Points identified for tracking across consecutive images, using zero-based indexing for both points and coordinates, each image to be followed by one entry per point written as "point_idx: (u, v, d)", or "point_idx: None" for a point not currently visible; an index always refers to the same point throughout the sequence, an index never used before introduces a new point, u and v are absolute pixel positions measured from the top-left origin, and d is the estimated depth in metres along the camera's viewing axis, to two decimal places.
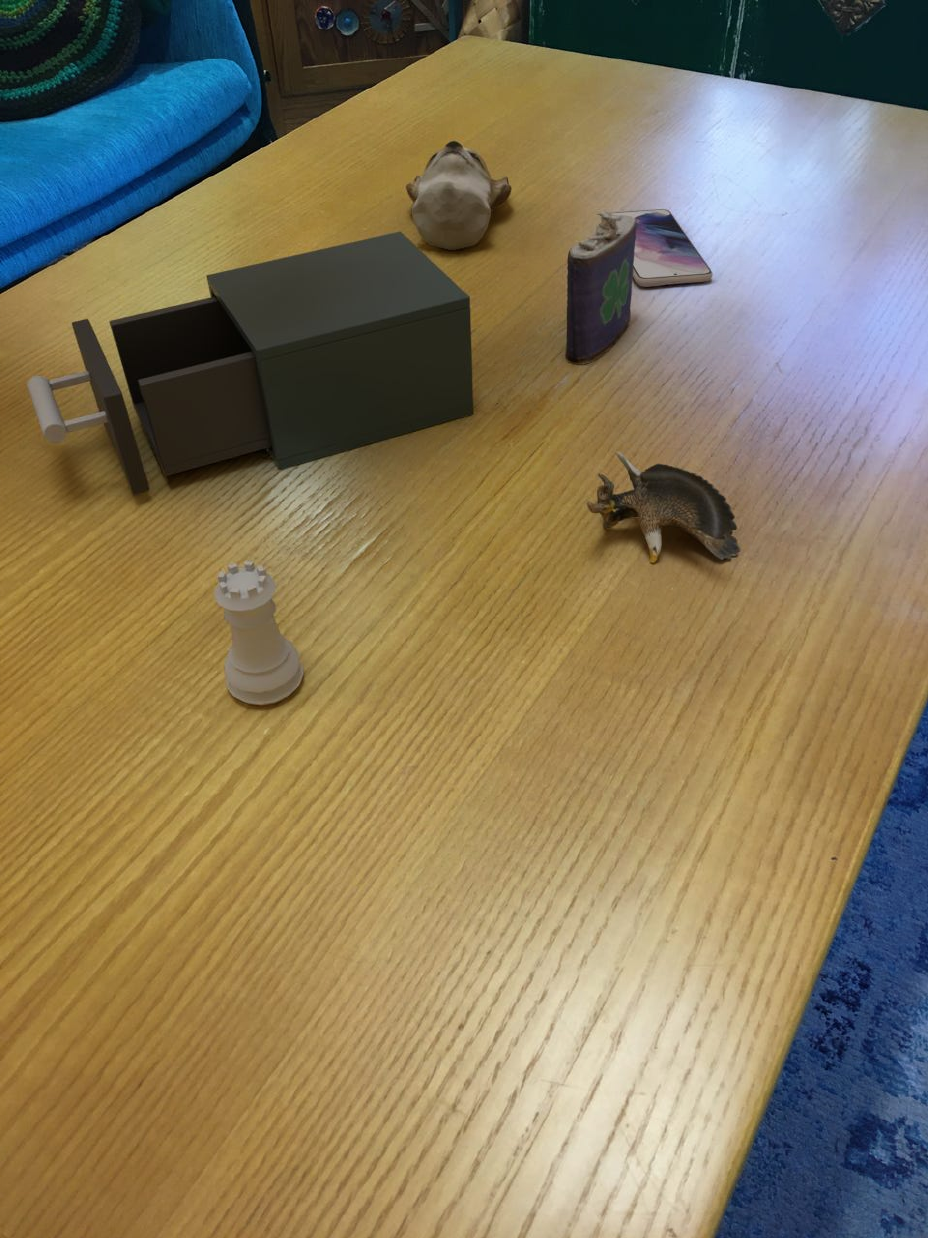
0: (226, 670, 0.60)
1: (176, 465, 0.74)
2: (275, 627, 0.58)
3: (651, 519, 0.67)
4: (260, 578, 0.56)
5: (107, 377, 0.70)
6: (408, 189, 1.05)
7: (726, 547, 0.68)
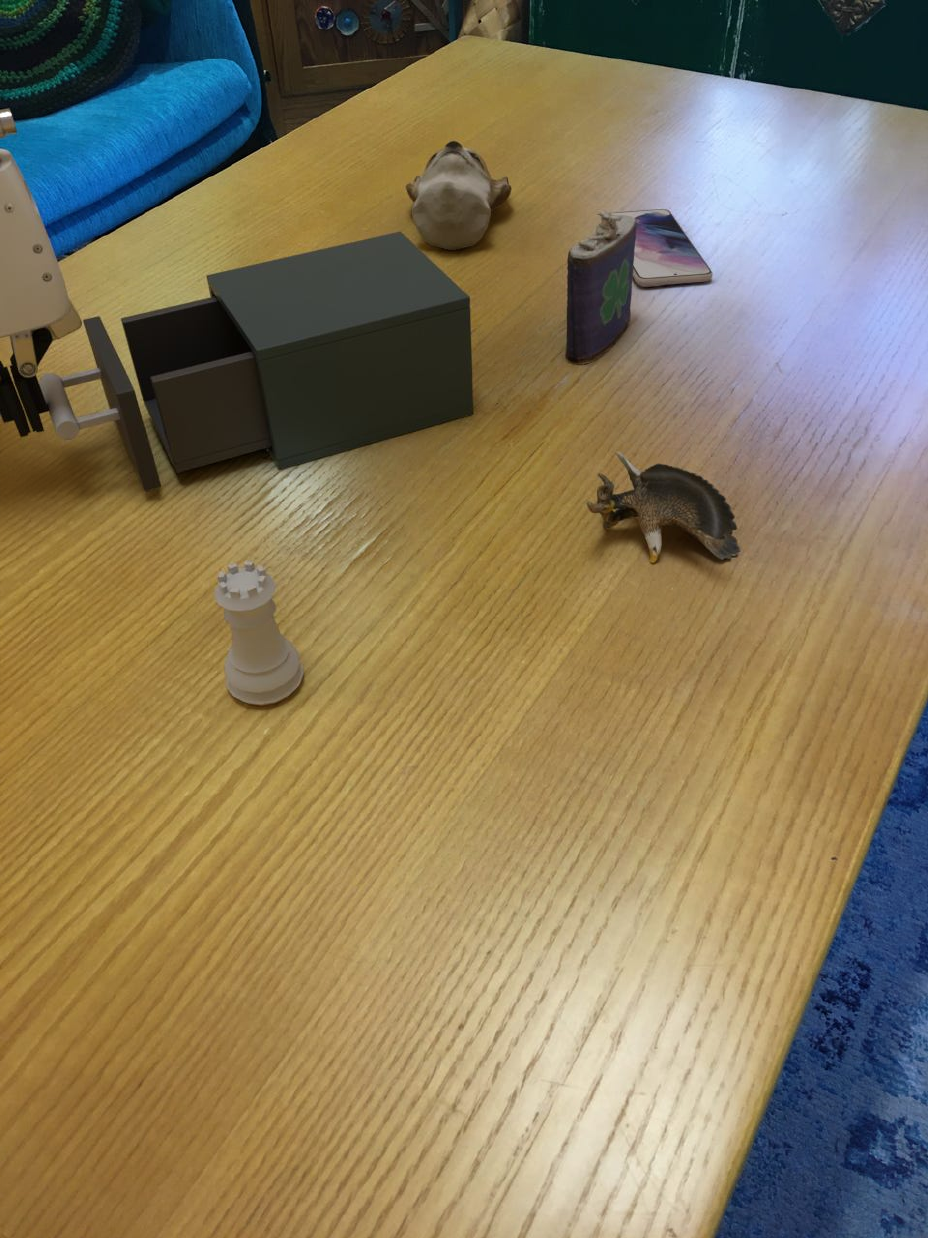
0: (226, 670, 0.60)
1: (188, 462, 0.74)
2: (275, 627, 0.58)
3: (651, 519, 0.67)
4: (260, 578, 0.56)
5: (119, 374, 0.70)
6: (408, 189, 1.05)
7: (726, 547, 0.68)
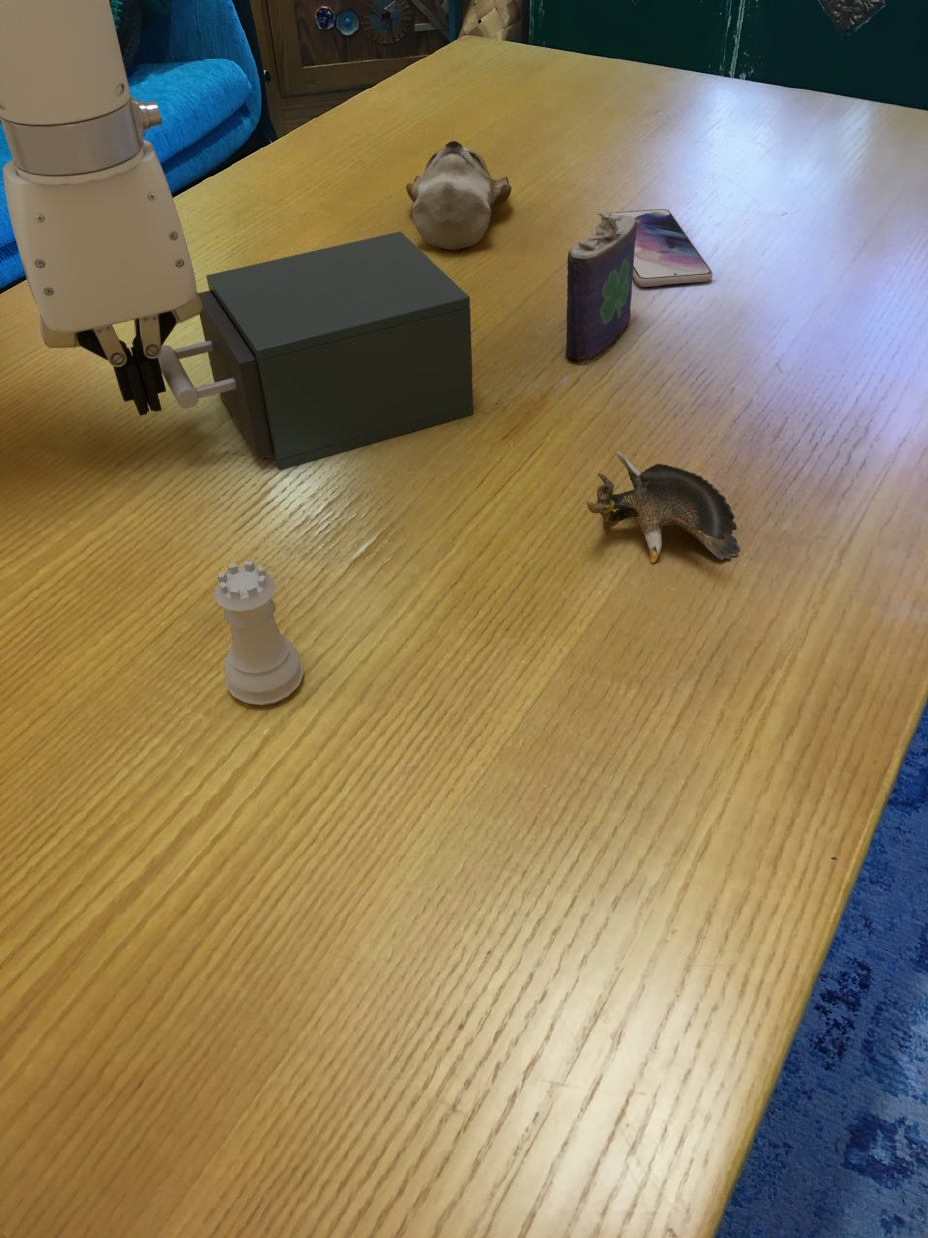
0: (226, 670, 0.60)
1: None
2: (275, 627, 0.58)
3: (651, 519, 0.67)
4: (260, 578, 0.56)
5: (239, 344, 0.72)
6: (408, 189, 1.05)
7: (726, 547, 0.68)
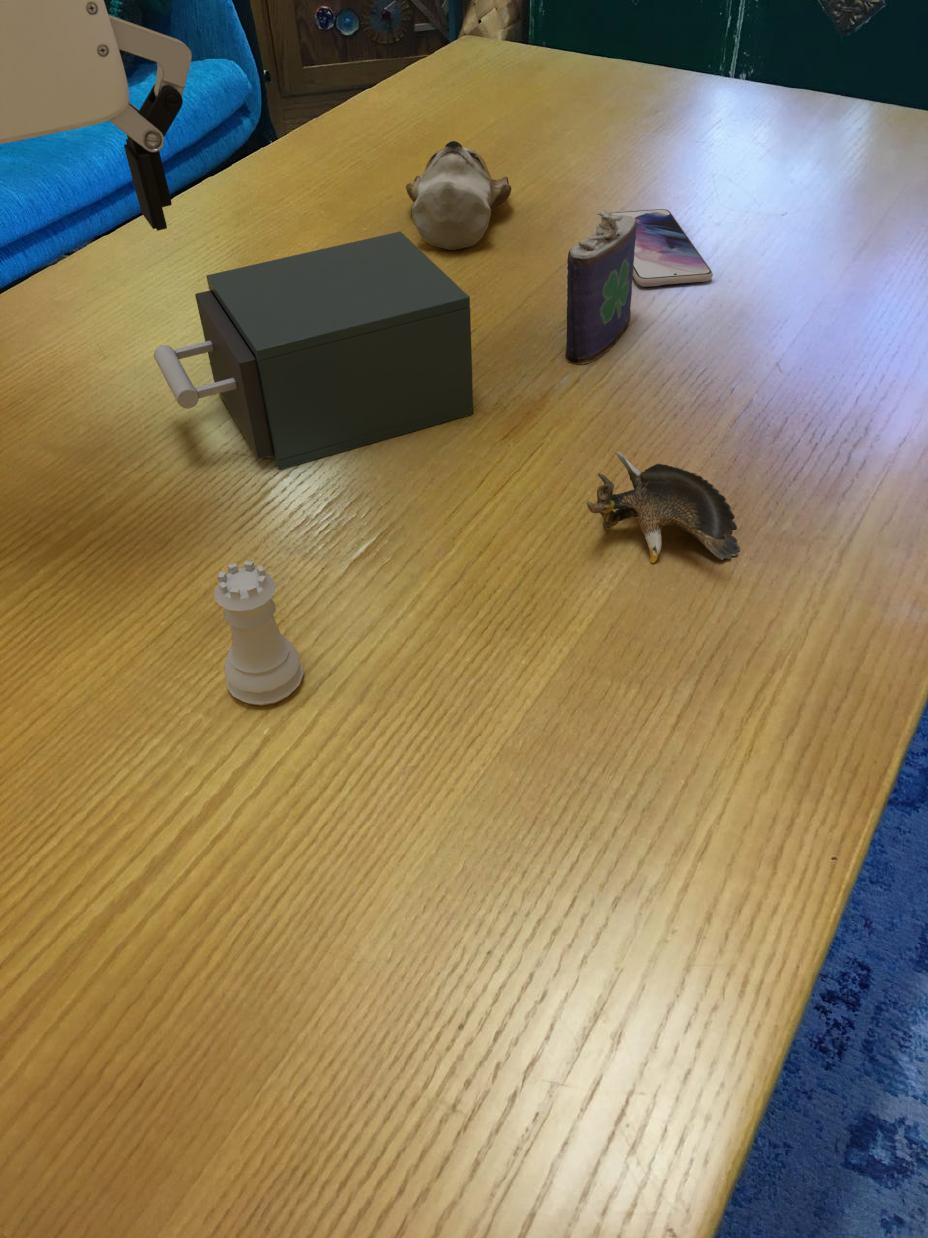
0: (226, 670, 0.60)
1: None
2: (275, 627, 0.58)
3: (651, 519, 0.67)
4: (260, 578, 0.56)
5: (239, 344, 0.72)
6: (408, 189, 1.05)
7: (726, 547, 0.68)
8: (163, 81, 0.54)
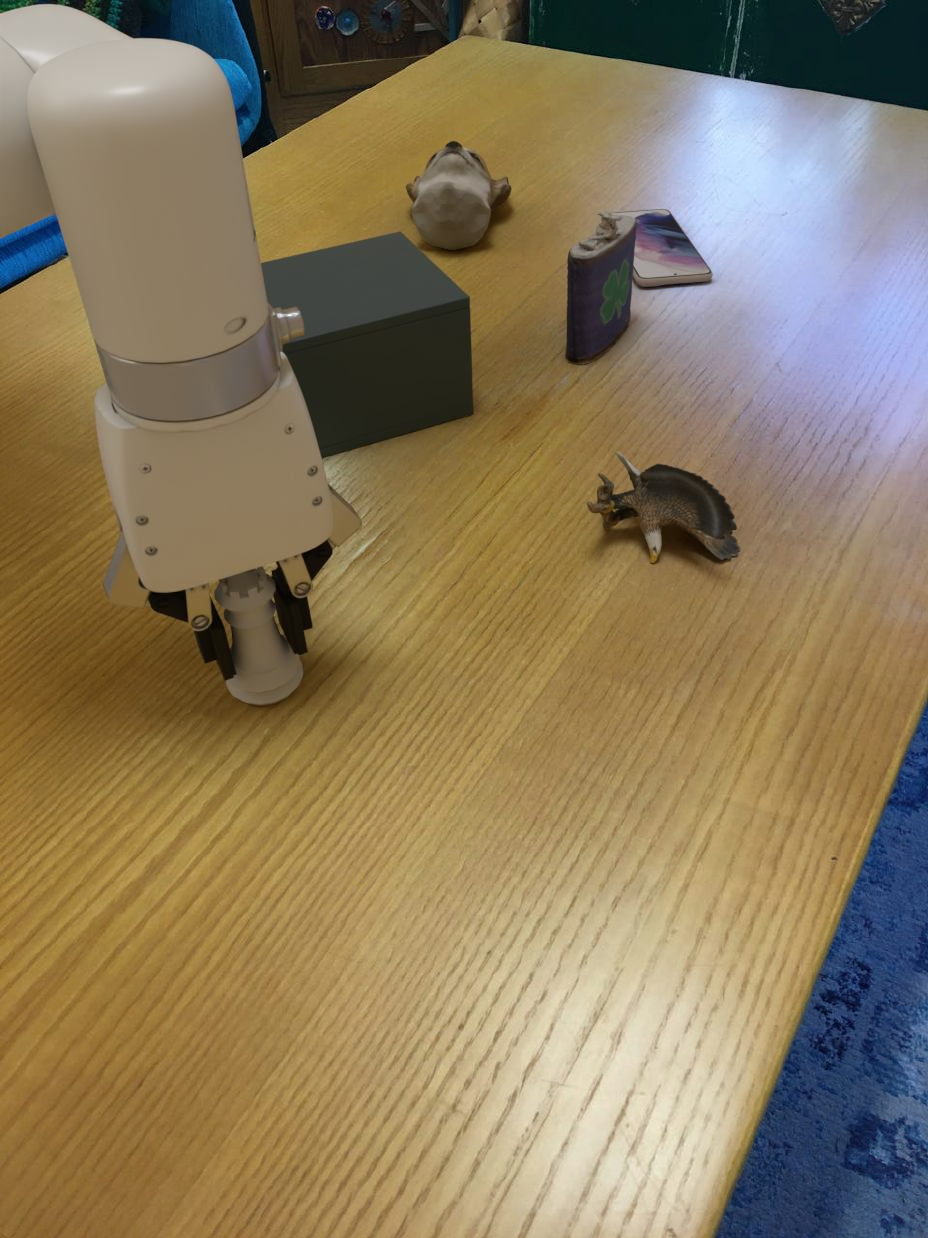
0: None
1: None
2: (275, 627, 0.58)
3: (651, 519, 0.67)
4: (260, 578, 0.56)
5: None
6: (408, 189, 1.05)
7: (726, 547, 0.68)
8: None
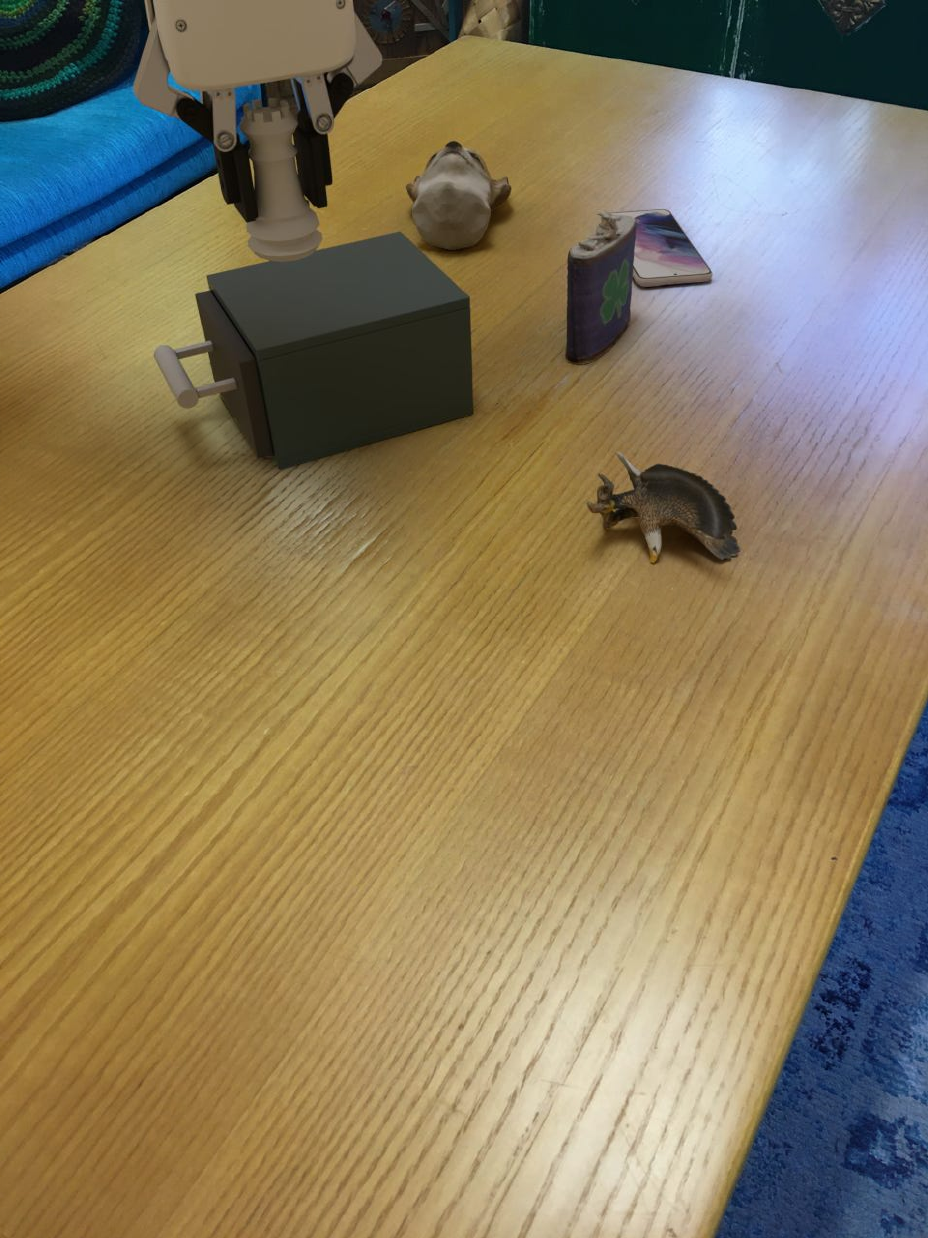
0: (248, 224, 0.62)
1: None
2: (296, 174, 0.60)
3: (651, 519, 0.67)
4: (283, 106, 0.58)
5: (239, 344, 0.72)
6: (408, 189, 1.05)
7: (726, 547, 0.68)
8: (346, 68, 0.58)
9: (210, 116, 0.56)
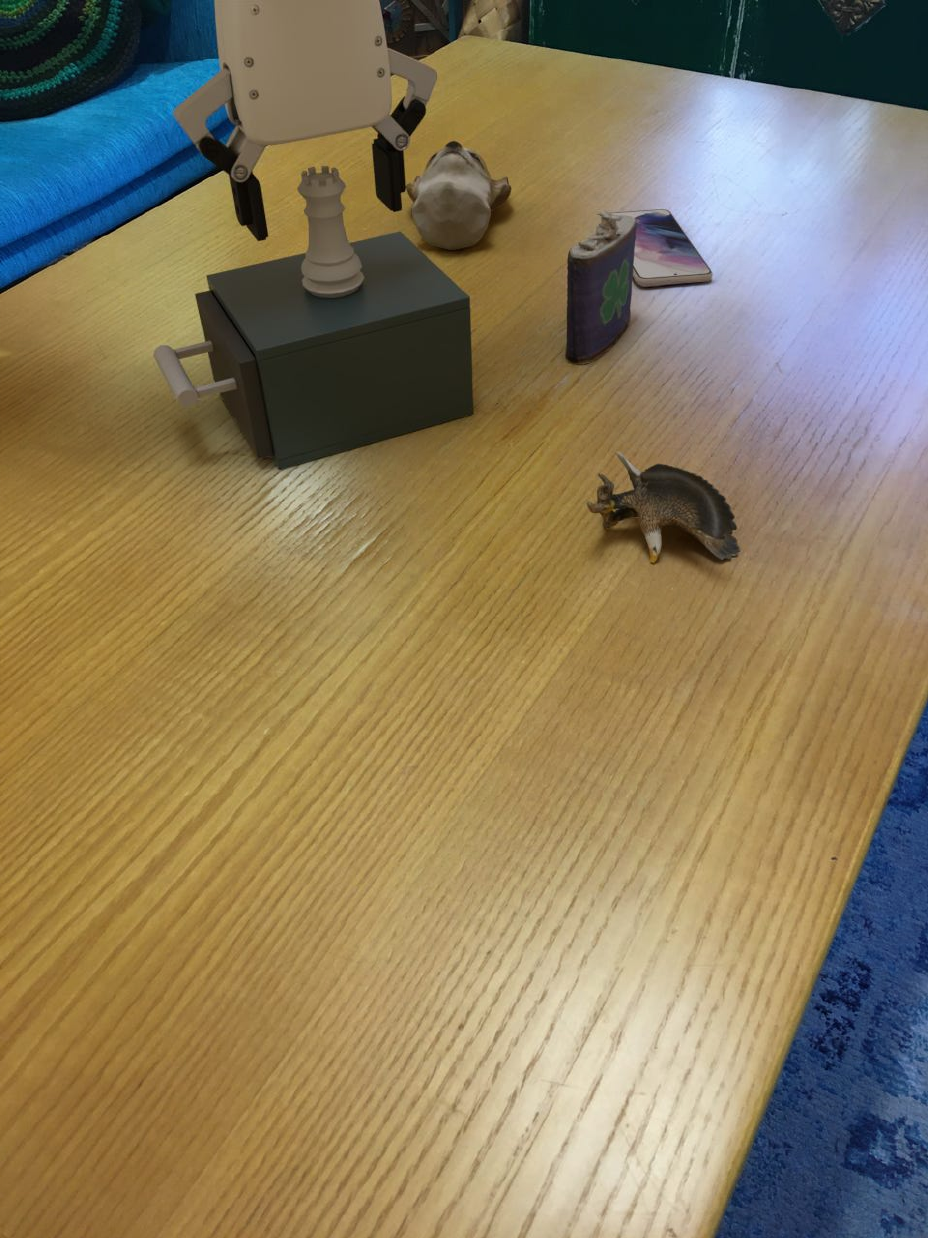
0: (303, 267, 0.75)
1: None
2: None
3: (651, 519, 0.67)
4: (334, 173, 0.71)
5: (239, 344, 0.72)
6: (408, 189, 1.05)
7: (726, 547, 0.68)
8: (413, 96, 0.70)
9: (238, 149, 0.67)
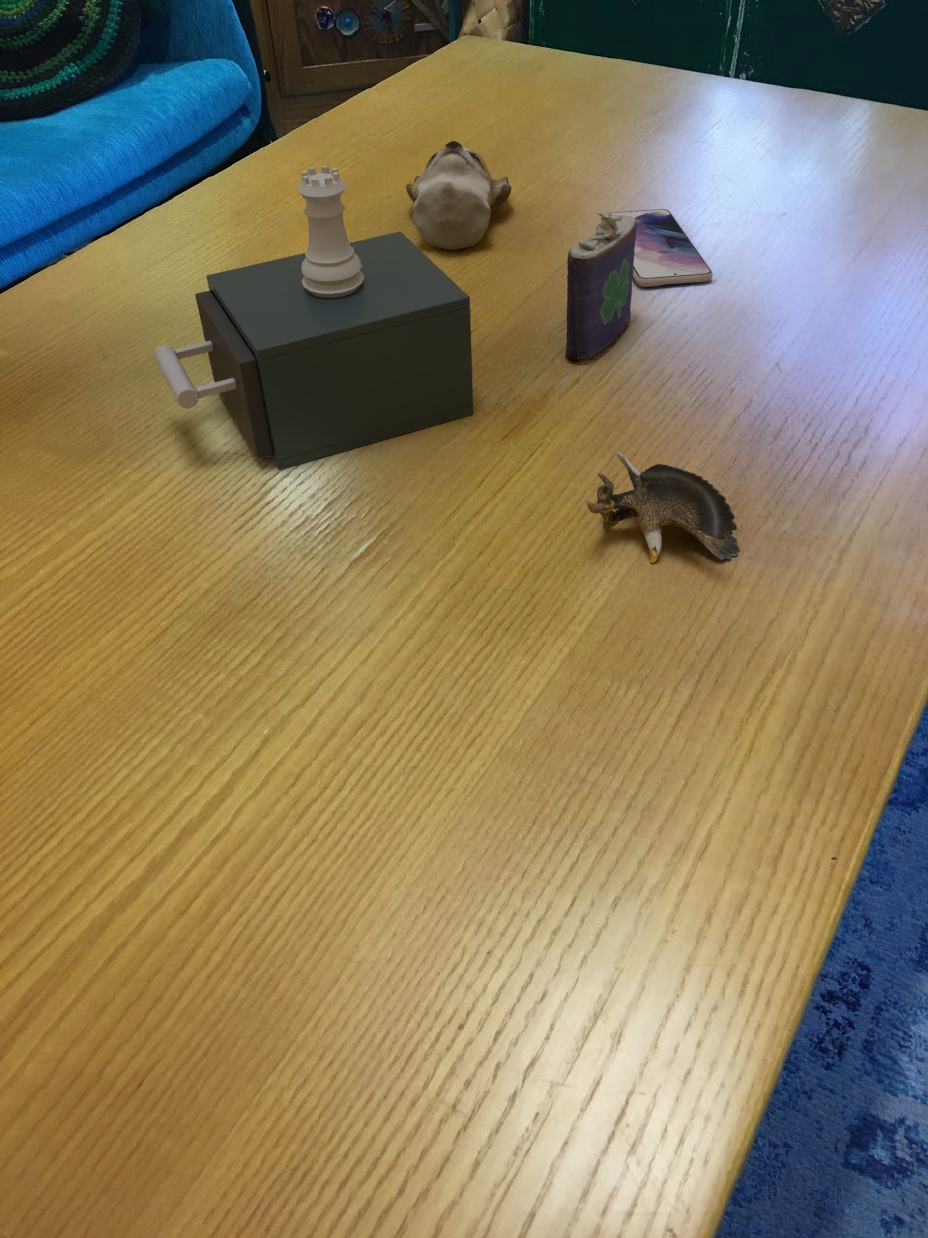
0: (303, 267, 0.75)
1: None
2: None
3: (651, 519, 0.67)
4: (334, 173, 0.71)
5: (239, 344, 0.72)
6: (408, 189, 1.05)
7: (726, 547, 0.68)
8: None
9: None
